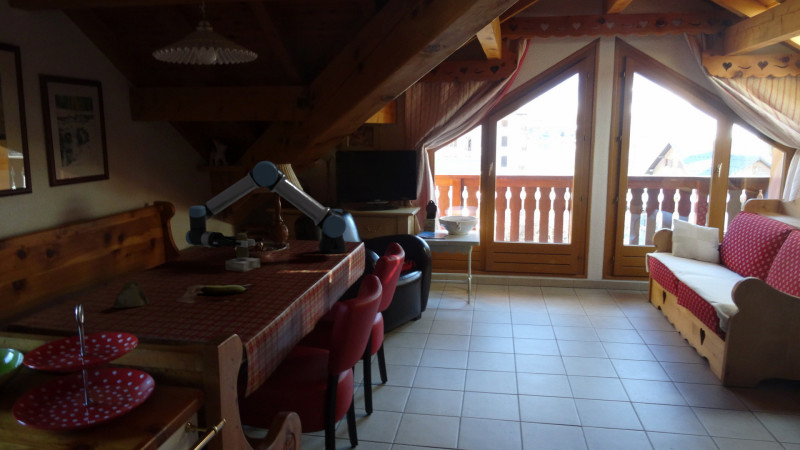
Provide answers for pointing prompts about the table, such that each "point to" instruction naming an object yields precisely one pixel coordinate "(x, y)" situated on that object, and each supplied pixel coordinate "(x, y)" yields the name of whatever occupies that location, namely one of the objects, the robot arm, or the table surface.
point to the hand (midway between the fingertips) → (250, 243)
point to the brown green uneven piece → (212, 291)
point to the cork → (241, 251)
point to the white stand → (242, 264)
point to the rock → (130, 296)
